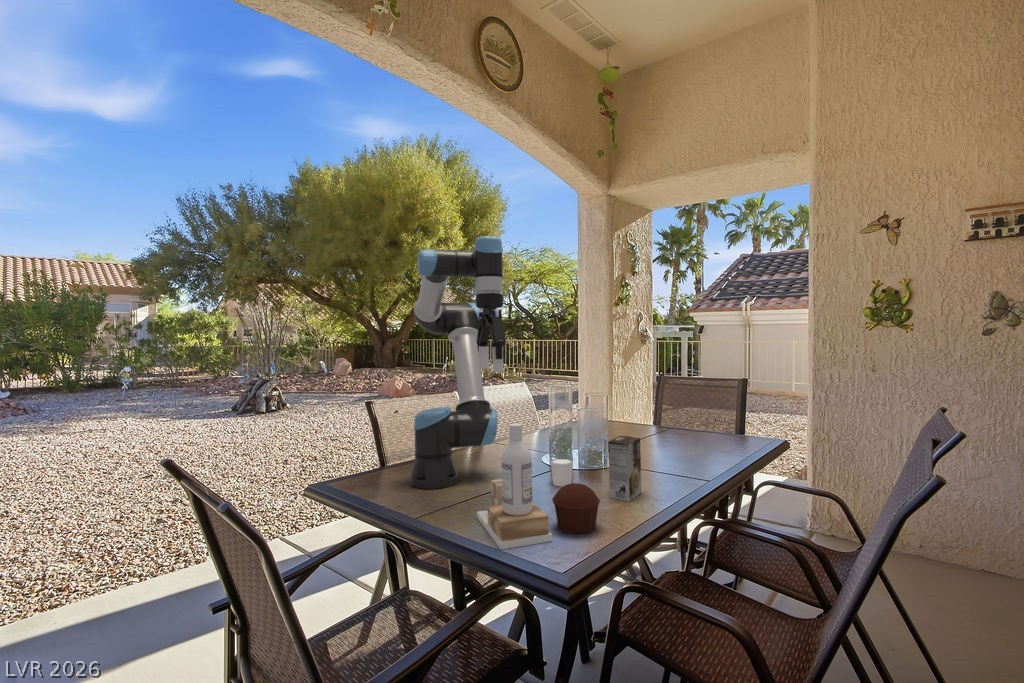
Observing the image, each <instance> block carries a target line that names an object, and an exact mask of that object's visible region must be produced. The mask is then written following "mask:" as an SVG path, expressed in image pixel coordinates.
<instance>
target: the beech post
mask: <svg viewBox="0 0 1024 683" xmlns="http://www.w3.org/2000/svg"><path fill="white" fill-rule="evenodd" d="M490 483H491V484H490V486H491V487H490V489H491V490H490V492H491V493H490V494H491V506H496V505H502V478H500V479H492V480H490Z"/></svg>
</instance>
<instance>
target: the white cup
mask: <svg viewBox="0 0 1024 683" xmlns="http://www.w3.org/2000/svg"><path fill="white" fill-rule="evenodd" d="M573 462H574V461H572V460H571V459H565V458H557V459H553V460H550V466H551V467H550V469H551V477H552V485H553V486H556V487H560V488H562V487H563V486H565V485H567V484H572V479H573V475H572V474H573V466H574V463H573Z"/></svg>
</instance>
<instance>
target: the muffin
mask: <svg viewBox="0 0 1024 683" xmlns="http://www.w3.org/2000/svg"><path fill="white" fill-rule="evenodd" d="M551 502H552V503H553V504H554V505H553V506H554V509H555V515H556V521H557V527H558V530H559V531H562V532H563V533H565V534H569V535H570V534H571V535H576V536H578V535H587V534H590V533H592V532H594V531H595V530H596V525H597V517H598V510H599V505H600V502H601V500H600V498H599V497H598V495H597V494H596V493H595V491H594V490H593V489H592V488H591V487H590V486H587V485H586V484H583V483H577V482H576V483H574V482H571V484H567V485H565V486H563V487H560V489H558V491H557V492H555V494H554V496H553V497H552V499H551Z"/></svg>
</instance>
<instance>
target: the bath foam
mask: <svg viewBox="0 0 1024 683" xmlns="http://www.w3.org/2000/svg"><path fill="white" fill-rule="evenodd" d="M508 426H509V441H508V442H507V444H506V445H505V447H504V450H503V451H502V456H501V479H502V505H503V511H504V513H506V514H508V515H514V516H520V515H526V514H528V513H530V512H531V511H532V502H533V471H532V470H533V466H532V465H533V464H532V462H533V460H532V454H531V452H530V449H529V448H528V446H527V445H526V443H525V442H524V440H523V424H522V423H510V424H509V425H508Z"/></svg>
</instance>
